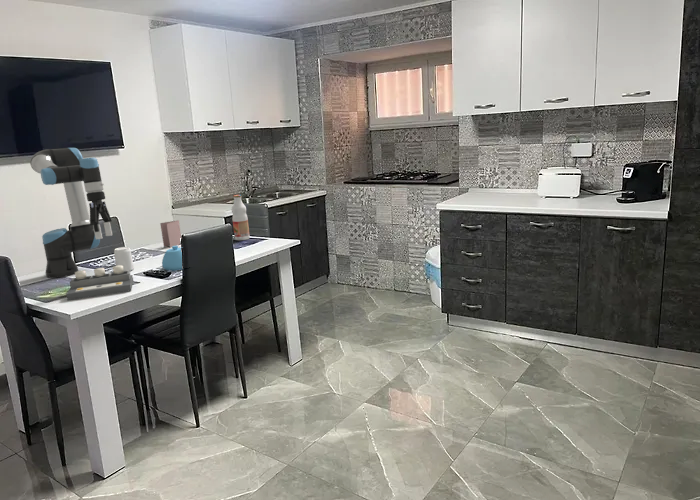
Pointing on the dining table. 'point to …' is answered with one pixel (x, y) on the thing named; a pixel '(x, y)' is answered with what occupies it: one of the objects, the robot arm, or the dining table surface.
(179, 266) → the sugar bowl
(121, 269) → the button
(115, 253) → the beverage can
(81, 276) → the button
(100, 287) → the button panel
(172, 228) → the pink rectangular block
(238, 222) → the fruit juice
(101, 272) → the middle button
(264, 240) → the dining table surface
